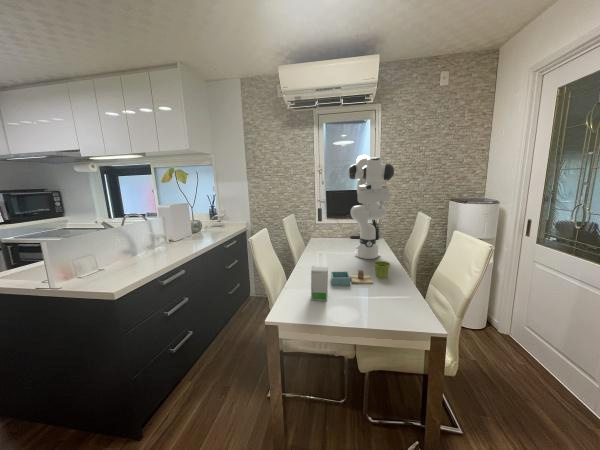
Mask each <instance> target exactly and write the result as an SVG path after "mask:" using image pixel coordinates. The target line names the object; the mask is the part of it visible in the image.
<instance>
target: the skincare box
mask: <svg viewBox="0 0 600 450" xmlns="http://www.w3.org/2000/svg"><path fill="white" fill-rule="evenodd" d="M310 272H311V273H310V282H311V283H310V300H311V301H320V302H328V295H329V293H328V291H329V288H328V284H329V278H328V277H329V267H328V266H317V265H316V266H315V265H314V266H311V270H310Z"/></svg>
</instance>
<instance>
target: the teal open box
mask: <svg viewBox="0 0 600 450" xmlns="http://www.w3.org/2000/svg"><path fill="white" fill-rule="evenodd" d="M350 275H351V274H350V272H349V271H344V270H343V271H341V270H340V271H338V270H337V271H330V281H331V286H332V287H335V286H337V287H338V286H339V287H341V286H343V287H351V281H350Z"/></svg>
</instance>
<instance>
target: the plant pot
mask: <svg viewBox="0 0 600 450" xmlns="http://www.w3.org/2000/svg"><path fill="white" fill-rule="evenodd" d="M373 265H374V270H375V277H376V278H378V279H387V278H388V275H389V274H388V273H389V269H390V266H391V263H390V262H388V261H385V260H378V261H377V260H376V261H374V262H373Z"/></svg>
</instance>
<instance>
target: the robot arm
mask: <svg viewBox="0 0 600 450" xmlns="http://www.w3.org/2000/svg"><path fill="white" fill-rule="evenodd" d="M355 162H356V163H353V164H352V165H350V166H349V167H348V169H347V176H348V177H349V179H350V180H357V181H356V193H357V202H358V203H359V205H353V206H352V207H351V208H350V212H349V213H350V216H351V218H352V219H353V220H355V221H356V223H357V224H358V226H359V233H360V234H359V235H360V236H359V242H358V245H356V246H355V251H354V257H357V258H360V259H366V260H371V259H376V258H379V257H381V254H380V253H379V245H378V244H377V238H376V237H377V235H376V227H375V226H374V225H373V224H372V223H371V224H370V223H369V221H371V220H372V221H373V220H381V219H384V218H385V217H386V216H387V208H386V206H384V204H385V202H389V201H390V192H389V188H390V187H388V186H387V185H383V181H390V180H391V179H392V178H393V177H394V175H395V168H394V166H393V164H391V163H384V162H383V160H382V158H380V157H371V156H369V155H366V154H363V155H362V154H361V155H359V156H357V159H356V161H355Z"/></svg>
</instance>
